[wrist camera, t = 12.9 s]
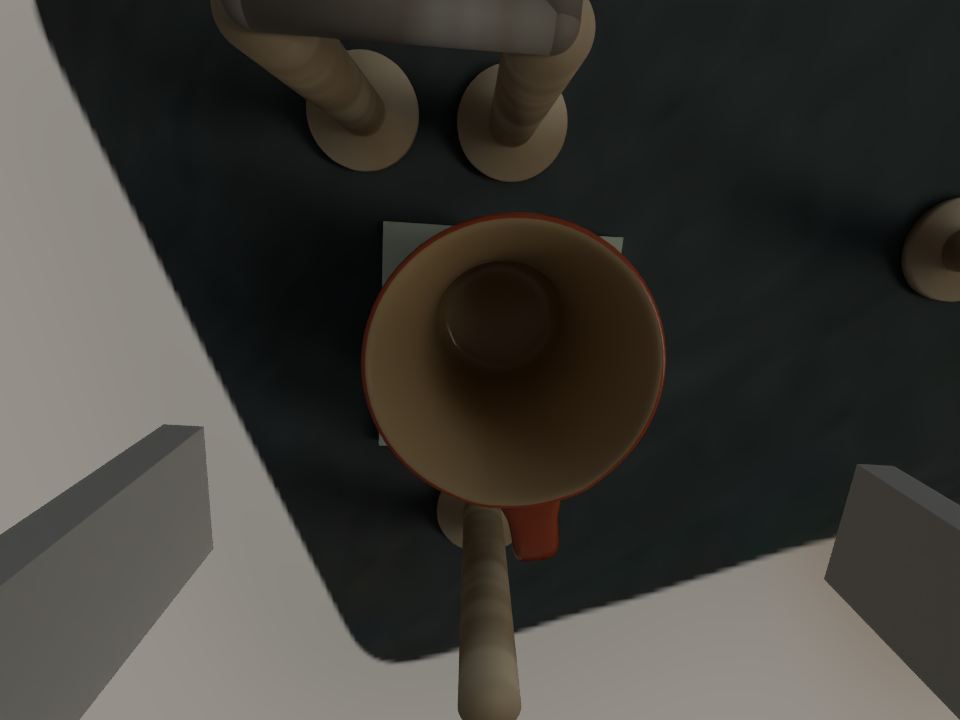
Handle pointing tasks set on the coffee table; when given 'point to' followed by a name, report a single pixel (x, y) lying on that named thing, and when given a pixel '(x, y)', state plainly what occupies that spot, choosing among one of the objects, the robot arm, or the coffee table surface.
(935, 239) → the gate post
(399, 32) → the light wood frame
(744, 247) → the coffee table surface
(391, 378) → the mug
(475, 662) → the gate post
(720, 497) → the coffee table surface
